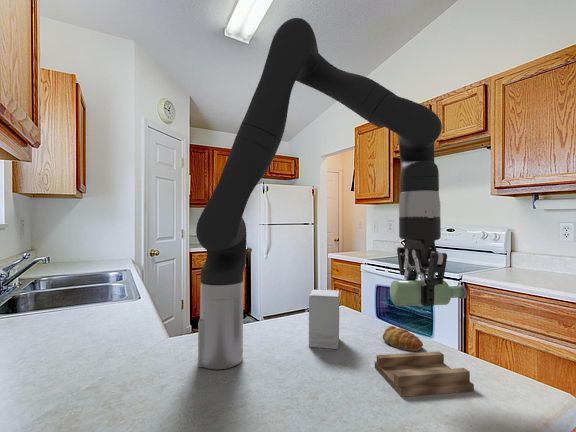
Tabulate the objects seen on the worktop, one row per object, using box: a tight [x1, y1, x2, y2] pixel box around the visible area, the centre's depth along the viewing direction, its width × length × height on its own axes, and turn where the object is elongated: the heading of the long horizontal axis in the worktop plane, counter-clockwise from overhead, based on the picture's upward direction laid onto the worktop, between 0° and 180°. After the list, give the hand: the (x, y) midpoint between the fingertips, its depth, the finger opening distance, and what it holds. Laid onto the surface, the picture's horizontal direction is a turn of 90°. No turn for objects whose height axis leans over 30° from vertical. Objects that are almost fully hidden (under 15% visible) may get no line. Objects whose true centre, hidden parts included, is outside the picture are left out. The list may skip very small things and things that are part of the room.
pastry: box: [382, 325, 424, 352], centre depth 77 cm, size 9×7×4 cm
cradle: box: [374, 351, 475, 398], centre depth 60 cm, size 14×11×3 cm
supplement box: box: [308, 289, 340, 350], centre depth 78 cm, size 7×7×13 cm
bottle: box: [389, 279, 468, 307], centre depth 61 cm, size 14×5×5 cm, turn 98°
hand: (419, 301), depth 61 cm, fingers closed on bottle, 4 cm apart
